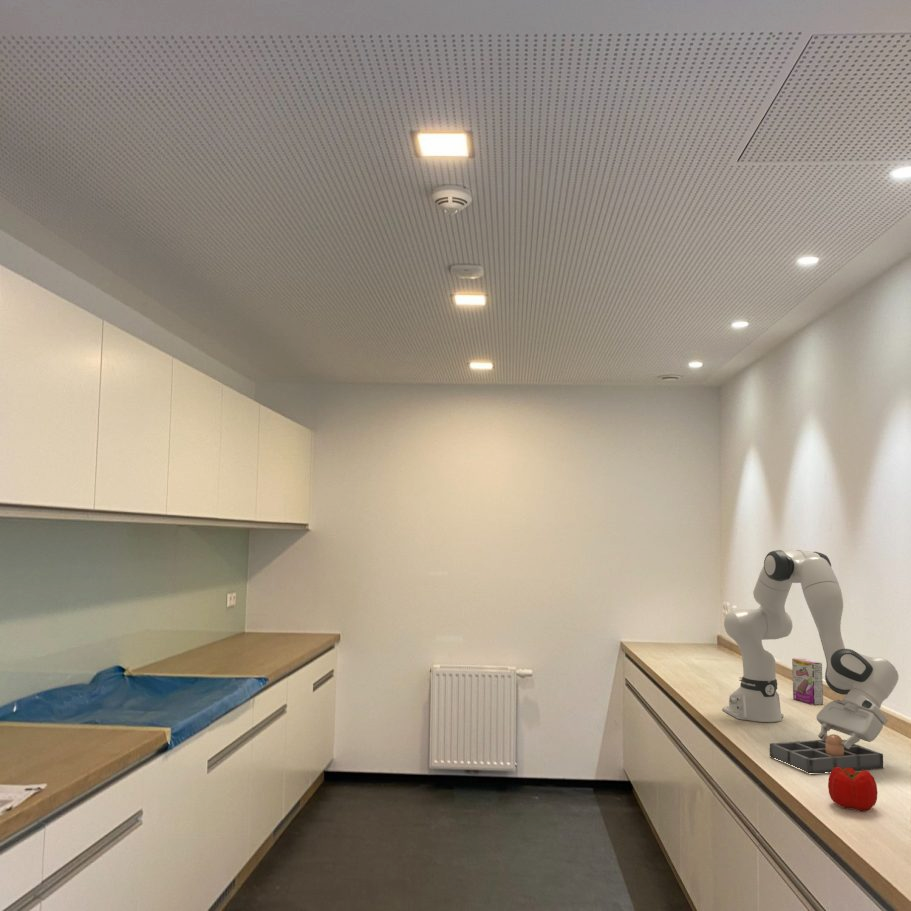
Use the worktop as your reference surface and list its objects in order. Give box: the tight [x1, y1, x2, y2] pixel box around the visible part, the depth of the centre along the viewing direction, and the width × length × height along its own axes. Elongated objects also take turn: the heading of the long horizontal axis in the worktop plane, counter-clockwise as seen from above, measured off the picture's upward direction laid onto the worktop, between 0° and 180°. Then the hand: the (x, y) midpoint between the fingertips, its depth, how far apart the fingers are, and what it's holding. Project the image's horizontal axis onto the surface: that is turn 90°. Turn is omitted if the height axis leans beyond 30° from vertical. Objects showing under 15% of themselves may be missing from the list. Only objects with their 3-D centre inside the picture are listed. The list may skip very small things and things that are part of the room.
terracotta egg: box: [825, 733, 844, 757], centre depth 229 cm, size 5×5×8 cm
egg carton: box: [769, 739, 884, 774], centre depth 233 cm, size 17×25×4 cm
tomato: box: [827, 767, 879, 812], centre depth 196 cm, size 11×12×9 cm
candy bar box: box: [791, 657, 824, 706], centre depth 315 cm, size 11×5×16 cm, turn 22°
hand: (832, 742), depth 229 cm, fingers open, 8 cm apart
